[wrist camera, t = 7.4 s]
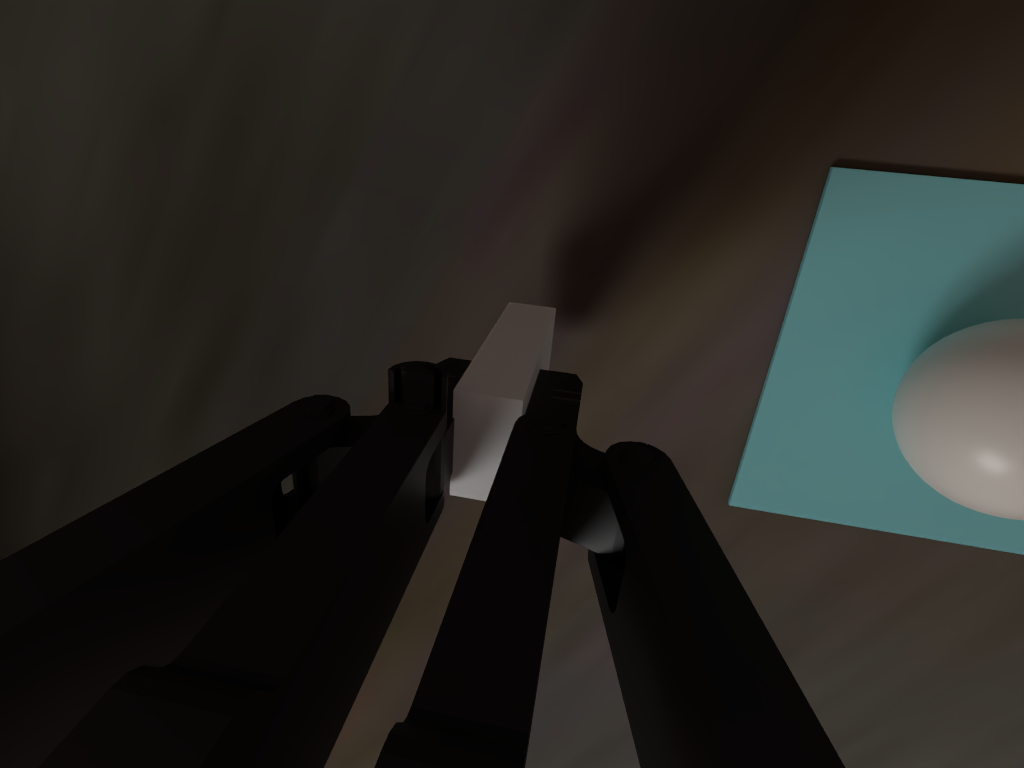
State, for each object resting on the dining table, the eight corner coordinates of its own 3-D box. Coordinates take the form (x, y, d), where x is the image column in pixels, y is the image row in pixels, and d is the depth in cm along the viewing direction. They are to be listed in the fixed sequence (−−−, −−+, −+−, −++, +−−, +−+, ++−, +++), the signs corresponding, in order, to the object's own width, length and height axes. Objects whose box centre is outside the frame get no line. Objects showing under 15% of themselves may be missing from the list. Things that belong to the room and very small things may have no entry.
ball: (864, 431, 20) (864, 511, 16) (927, 282, 18) (947, 326, 13) (1060, 487, 18) (1126, 599, 13) (1163, 323, 15) (1284, 394, 11)
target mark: (728, 501, 21) (728, 505, 21) (830, 166, 16) (833, 167, 16) (1076, 560, 20) (1080, 564, 19) (1314, 210, 14) (1322, 211, 14)
